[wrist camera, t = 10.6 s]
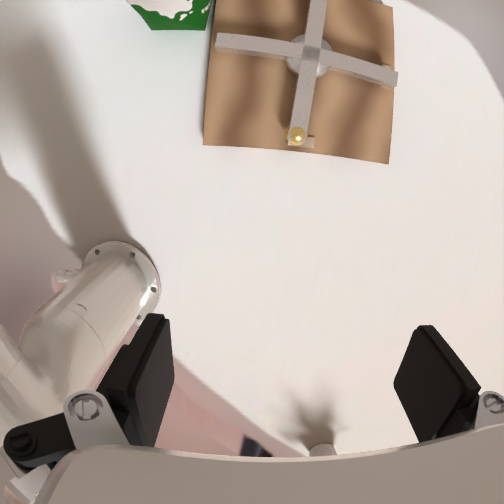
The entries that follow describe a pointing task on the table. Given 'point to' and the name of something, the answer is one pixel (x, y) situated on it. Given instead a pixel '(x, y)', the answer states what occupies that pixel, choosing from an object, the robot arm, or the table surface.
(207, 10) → the milk carton
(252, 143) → the stand plate
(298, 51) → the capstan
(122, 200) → the table surface
